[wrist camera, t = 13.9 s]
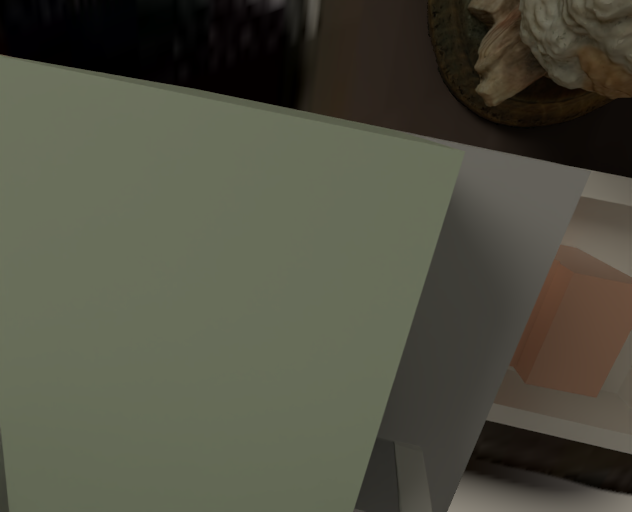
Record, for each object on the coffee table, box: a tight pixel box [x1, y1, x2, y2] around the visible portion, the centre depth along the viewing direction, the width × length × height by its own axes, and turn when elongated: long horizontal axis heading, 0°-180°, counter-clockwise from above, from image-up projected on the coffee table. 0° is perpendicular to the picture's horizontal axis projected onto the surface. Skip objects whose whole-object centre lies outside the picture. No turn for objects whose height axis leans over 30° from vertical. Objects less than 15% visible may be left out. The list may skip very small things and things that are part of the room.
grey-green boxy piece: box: [0, 55, 591, 512], centre depth 7 cm, size 12×7×5 cm, turn 169°
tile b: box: [514, 245, 632, 398], centre depth 18 cm, size 5×5×3 cm
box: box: [486, 165, 632, 454], centre depth 19 cm, size 12×14×4 cm
